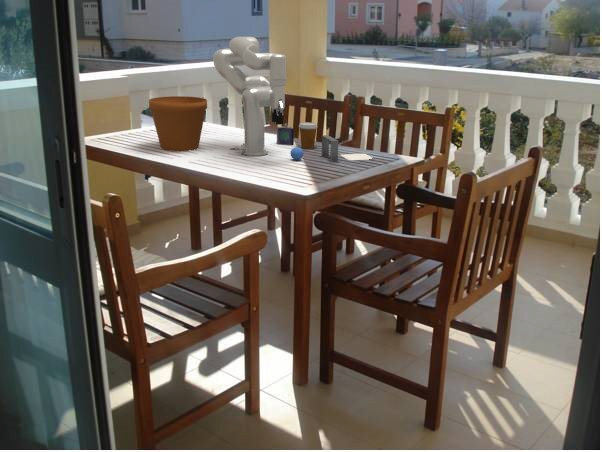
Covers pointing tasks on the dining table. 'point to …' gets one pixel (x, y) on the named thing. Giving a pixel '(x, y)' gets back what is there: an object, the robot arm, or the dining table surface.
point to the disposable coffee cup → (307, 134)
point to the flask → (285, 135)
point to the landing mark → (356, 157)
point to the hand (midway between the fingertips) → (277, 122)
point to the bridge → (334, 148)
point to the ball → (296, 153)
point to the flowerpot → (178, 121)
